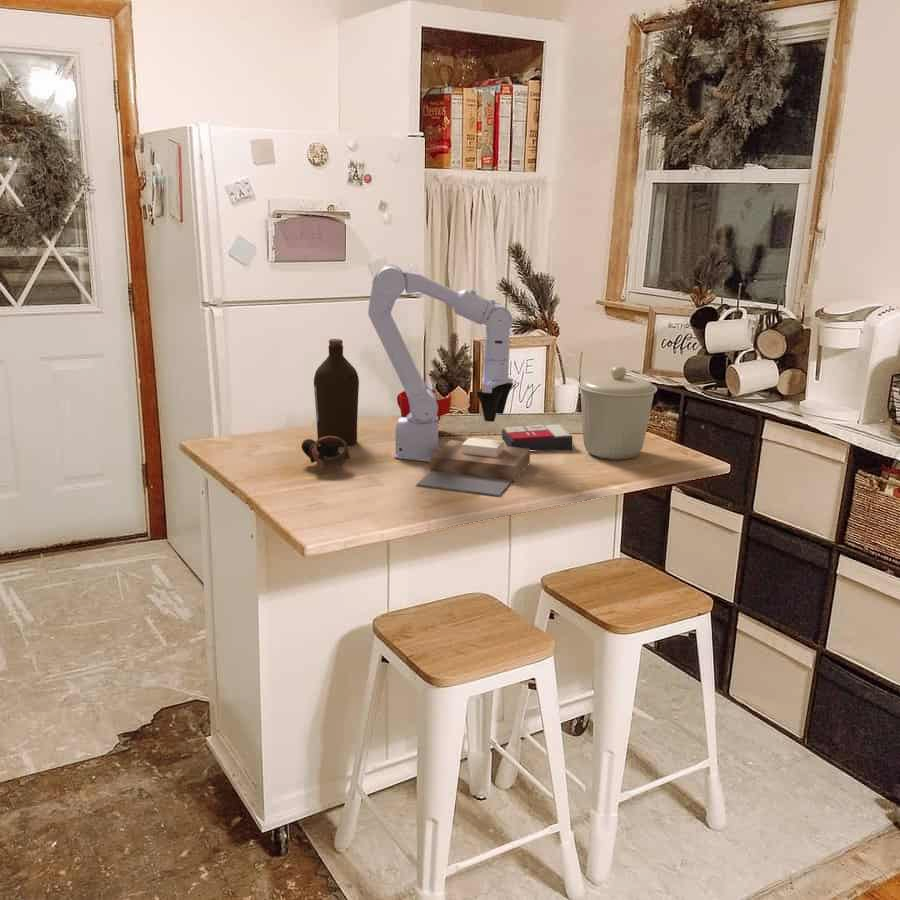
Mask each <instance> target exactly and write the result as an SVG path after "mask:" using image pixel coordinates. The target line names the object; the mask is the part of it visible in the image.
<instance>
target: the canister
mask: <svg viewBox="0 0 900 900" xmlns="http://www.w3.org/2000/svg"><path fill="white" fill-rule="evenodd" d="M577 386H578V388H579V389H580V404H581V407H580V408H581V424H582V438H583V441H582V442H583V445H584V448H585V450H586V451H587V452H588V453H589V454H590V455H592V456H595V457H597V458H602V459H605V460H617V461H618V460H628V459H629V460H630V459H633V458H635V457H636V456H638V455H639V454H640V453H641V451H642V449H643V447H644V442H645V438H646V435H647V430H648V427H649V426H648V425H649V421H650V415H651V411H652V407H653V406H652V405H653V400H654V395H655V394H656V393H657V391H658V387H657V386H656V385H655V384H652V382H651V381H649V380H646V379H644V378H641V377H637V376H632V375H627V370H626V368H625V367H624V366H621V365H615V366H612V368H611V370H610V374H596V375H591V376H589V377H586V378H585V379H584V380H581V381H579V382H578V383H577Z"/></svg>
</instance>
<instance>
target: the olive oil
mask: <svg viewBox="0 0 900 900" xmlns="http://www.w3.org/2000/svg"><path fill="white" fill-rule="evenodd" d="M343 343H344V342H343V339H339V338H330V339H329V340H328V344H329V345H328V356H327V357H326V359H325V360H324V361H323V362H322V363H321V364H320V365H319V366H318V368H316V371H315V372H314V377H313V389H314V402H315V403H314V404H315V417H316V433H317V440H318V439H320V438H322V437H325V436H335V437H338V438H341V439H343V440H344V441H345V442H346V443H347V446H348V448H349V447H352V446H355V445H356V444H357V442H358V411H359V407H358V406H359V391H360V390H359V388H360V387H359V386H360V378H359V375H358V372H357V370H356V368H355V367H354V366H353V365H352V364H351V363H350V361H348V359H346V357H345V356H344V345H343ZM321 445H322V444H319V446H321ZM339 448H344V447H343V445H342V446H339Z"/></svg>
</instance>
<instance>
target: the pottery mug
mask: <svg viewBox="0 0 900 900" xmlns="http://www.w3.org/2000/svg"><path fill="white" fill-rule="evenodd" d="M320 444H322V445H320ZM342 445H343V447H342V448H343V451H342V452H340V451H339V446H342ZM301 450H302V452H303V453H304V454H305V455H306V457H308V458H309V460H310V463H312V464H314V463H315V462H316V463H315V464H316V465H315V468H314V470H315V471H314V472H316V473H317V474H319V473H320V474H319V475H322V474H323V473H324V472H325V471H326V472H327V471H330V470H334V469H338V468H340V467H341V466H342V465H344V464H346V463H347V461H348V460H352V458H351V455H350V453H349V451H350V450H351V449H350V448H349V447H348V446H347V443H346V442H345V441H344V440H343V439H341V438H338V437H335V436H325V437H322V438H320V439H318V438H317V439H316V441H315V440H314V439H311V438H306V439H304V440H303V441H302V442H301Z"/></svg>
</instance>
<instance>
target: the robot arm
mask: <svg viewBox="0 0 900 900" xmlns="http://www.w3.org/2000/svg"><path fill="white" fill-rule="evenodd" d="M404 291H405V293H406V294H407V295H410V294H416V293H421V294H423V295H426V296H427V297H430V298H433V299H435V300H438V301H441V302H443V303H446V304H448V305H449V306H450V305H451V306H452V309H453V312H454V314H456V315H458V316H460V317H462V318H465V319H467V320H469V321H472V322H474V323H476V324H479V325H485V336H484V339H483V340H484V341H483V342H484V343H483V364H482V366H483V369H482V370H483V371H482V372H483V373H482V374H483V375H482V378H481V382H482V384H481V385H482V386H481V387H482V388H481V389H480V388H479V389H477V390H476V396H477V398H478V399H479V402H480V405H481V409H482V415H483V419H484V421H485V422H491V423H493V422H495V419H496V417H497V416H496V415H497V414H499V415H503V414H504V413H505V409H506V404H507V401H508V397H509V394H510V393H511V390H512V388H513V386H514V383H513V382H514V378H510V377H509V367H510V366H509V365H510V343H511V340H510V335H511V332H510V329H511V328H512V326H513V324H514V320H513V316H512V314H511V311H510V310H509V309H508V308H506V307H505V306H504V305H502V304H501V303H500V302H496V300H495V299H494V298H493V299H492V298H491V299H488V298H485V297H483V296H481V295H479V294H477V291H476V290H474V289H473V288H470V290H468V289H462V290H460V291H456V290H454V289H452V288H449V287H447V286H445V285H443V284H441V283H439V282H438V281H436V280H433V279H431V278H429V277H427V276H426V275H424V274H421V273H419V272H415V271H413V270H410V269H407V268H404V267H403V268H401V267H399V266H398V265H395V264H385V265H383V266H381V267H380V268H379V269H378V270H377V273H376V274H375V276H374V278H373V280H372V284H371V291H370V296H369V297H370V298H369V304H368V311H367V312H368V313H367V314H368V318H369V320H370V321H371V324H372V325H373V327H374V329H375V331H376V333H377V335H378V338H379V339H380V341H381V344H382V346H383V348H384V349H385V350H384V351H385V352H386V354H387V356H388V358H389V360H390V362H391V365H392V366H393V368H394V370H395V372H396V374H397V377H398V379H399V381H400V382H401V386H402V387H403V389H404V390H403V391H405V392H406V395H407V397H408V400H409V405H410V413H409V415H407V417H402V416H401V417H399V418H398V421H397V422H396V426H395V455H394V458H395V459H401V460H409V461H411V460H412V461H419V462H427V463H428V462H429V463H430V456H432V455H433V454H434V453H435V452H437V451H438V450H439V432H438V419H439V417H438V416H437V412H438V404H437V402H436V398H435V394H434V392H433V391H432V390H431V389H432V388H430V387H429V386H427V384H426V382H425V381H424V379H423V378H422V375H421V373H420V372H419V369H418V368H417V366H416V364H415V363H416V362H415V361H414V359H413V357H412V355H411V354H410V351H409V349H408V347H407V345H406V343H405V341H404V339H403V337H402V334H401V332H400V331H399V328H398V326H397V324H396V322H395V320H394V318H393V315H392V311H393V308H394V305H395V303H396V301H397V299H398V298H399V297H400V296H401V295H402V293H403V292H404Z"/></svg>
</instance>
